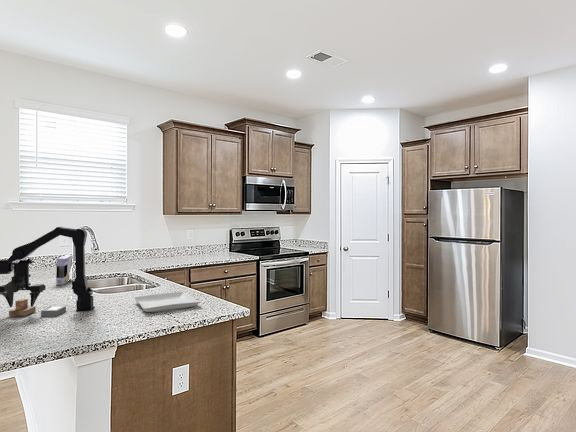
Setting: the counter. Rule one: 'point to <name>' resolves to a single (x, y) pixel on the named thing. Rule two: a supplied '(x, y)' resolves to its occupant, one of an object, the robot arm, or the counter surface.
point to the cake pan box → (63, 269)
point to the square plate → (166, 301)
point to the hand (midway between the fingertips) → (21, 306)
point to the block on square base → (22, 308)
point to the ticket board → (53, 311)
